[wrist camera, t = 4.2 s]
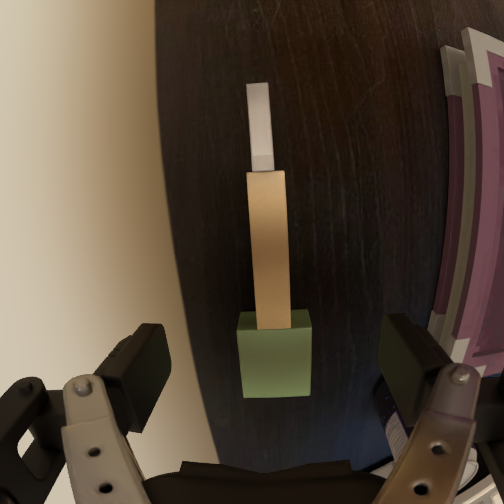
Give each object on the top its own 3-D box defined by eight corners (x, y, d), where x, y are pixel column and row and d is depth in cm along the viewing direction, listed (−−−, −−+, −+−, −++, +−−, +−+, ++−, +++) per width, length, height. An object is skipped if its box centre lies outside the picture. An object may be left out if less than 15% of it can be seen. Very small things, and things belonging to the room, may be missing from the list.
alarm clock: (526, 351, 23) (584, 408, 12) (531, 391, 24) (575, 444, 13) (329, 483, 29) (339, 564, 17) (362, 504, 30) (373, 571, 19)
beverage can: (404, 412, 25) (444, 505, 14) (360, 402, 25) (391, 508, 13) (438, 368, 24) (497, 457, 12) (394, 354, 24) (450, 457, 12)
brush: (307, 373, 24) (315, 433, 18) (246, 375, 25) (238, 435, 18) (299, 108, 19) (311, 80, 13) (224, 113, 20) (202, 88, 13)
